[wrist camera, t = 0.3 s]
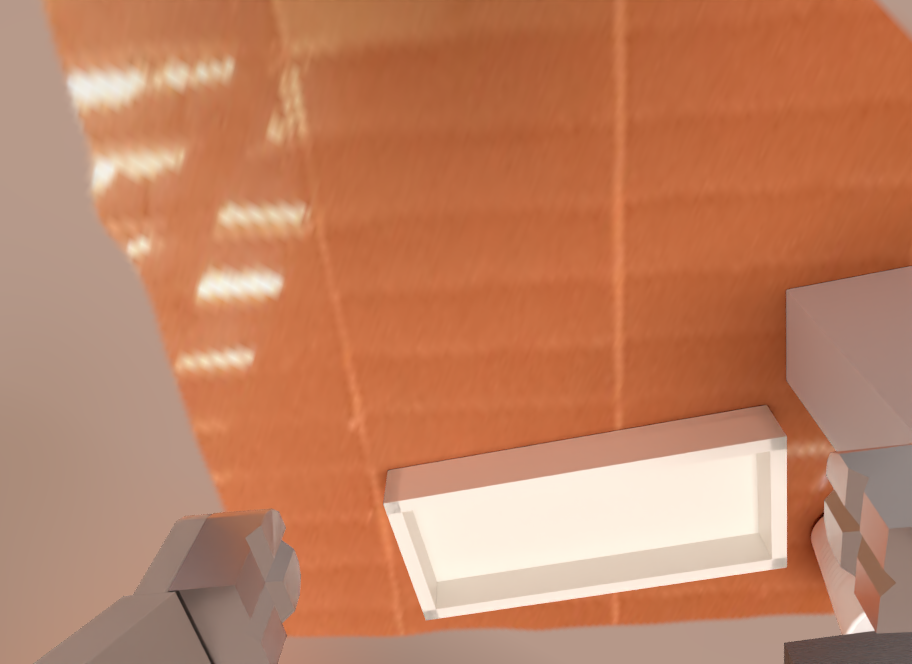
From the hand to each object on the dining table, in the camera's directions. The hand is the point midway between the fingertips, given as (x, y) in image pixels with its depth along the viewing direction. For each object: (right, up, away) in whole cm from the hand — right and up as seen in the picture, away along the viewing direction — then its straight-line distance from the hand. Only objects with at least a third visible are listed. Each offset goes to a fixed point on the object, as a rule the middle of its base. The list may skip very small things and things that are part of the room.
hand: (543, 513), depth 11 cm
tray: (+10, -12, +51) cm, 53 cm away
